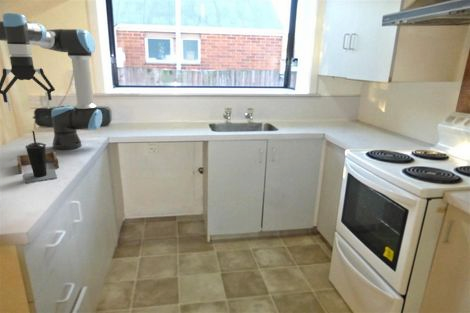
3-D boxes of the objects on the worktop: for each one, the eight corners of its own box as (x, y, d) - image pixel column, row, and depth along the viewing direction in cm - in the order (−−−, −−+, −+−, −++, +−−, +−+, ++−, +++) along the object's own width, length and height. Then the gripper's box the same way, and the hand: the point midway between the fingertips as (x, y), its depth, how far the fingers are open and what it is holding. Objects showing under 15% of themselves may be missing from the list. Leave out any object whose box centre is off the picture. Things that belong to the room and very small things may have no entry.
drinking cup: (53, 172, 147) (47, 129, 142) (44, 178, 140) (37, 133, 134) (36, 172, 147) (29, 129, 141) (26, 178, 140) (18, 133, 134)
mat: (54, 170, 152) (54, 169, 151) (57, 178, 142) (57, 177, 142) (24, 174, 145) (24, 173, 145) (24, 183, 136) (24, 182, 136)
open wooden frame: (56, 159, 167) (54, 151, 166) (58, 168, 155) (57, 159, 154) (19, 164, 159) (17, 155, 158) (19, 173, 147) (17, 164, 145)
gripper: (55, 56, 138) (62, 106, 145) (-18, 55, 126) (-7, 110, 132) (57, 56, 132) (64, 108, 139) (-20, 55, 120) (-8, 113, 126)
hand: (30, 109), depth 135 cm, fingers open, 13 cm apart
